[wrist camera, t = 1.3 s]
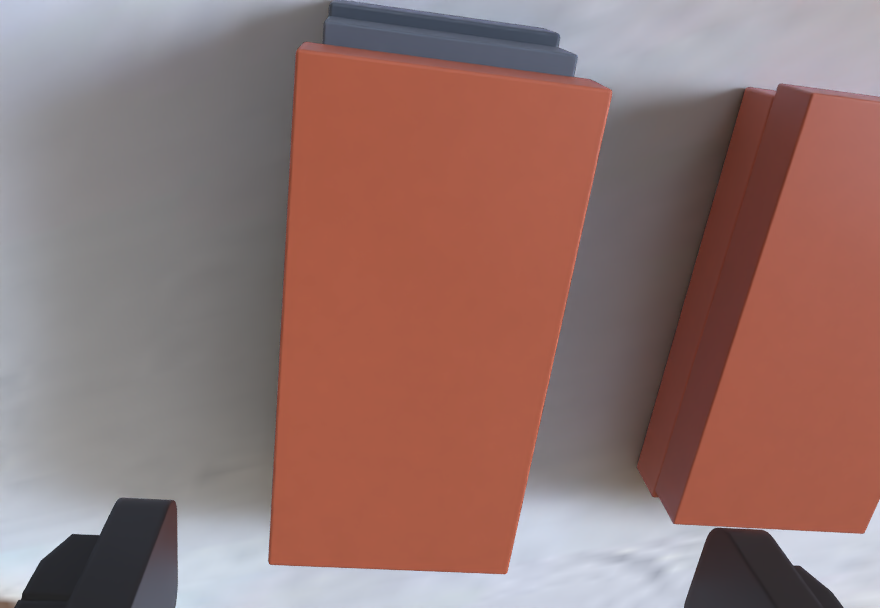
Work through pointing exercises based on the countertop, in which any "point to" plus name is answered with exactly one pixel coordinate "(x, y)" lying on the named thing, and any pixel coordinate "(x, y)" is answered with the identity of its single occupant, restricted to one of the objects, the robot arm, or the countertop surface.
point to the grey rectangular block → (446, 38)
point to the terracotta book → (422, 303)
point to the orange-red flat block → (780, 328)
